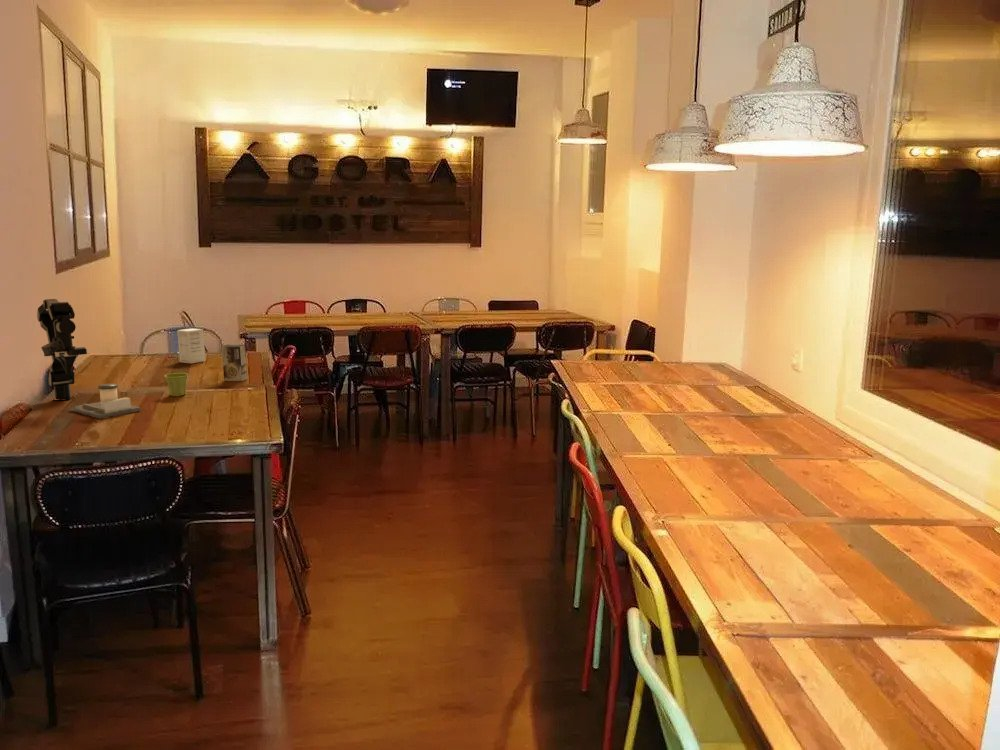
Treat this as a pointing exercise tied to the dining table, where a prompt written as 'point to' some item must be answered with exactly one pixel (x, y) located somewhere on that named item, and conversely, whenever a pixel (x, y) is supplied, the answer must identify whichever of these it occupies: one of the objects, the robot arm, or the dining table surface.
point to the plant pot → (177, 383)
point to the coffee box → (234, 362)
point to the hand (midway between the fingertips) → (67, 373)
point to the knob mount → (107, 408)
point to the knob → (108, 392)
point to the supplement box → (191, 345)
